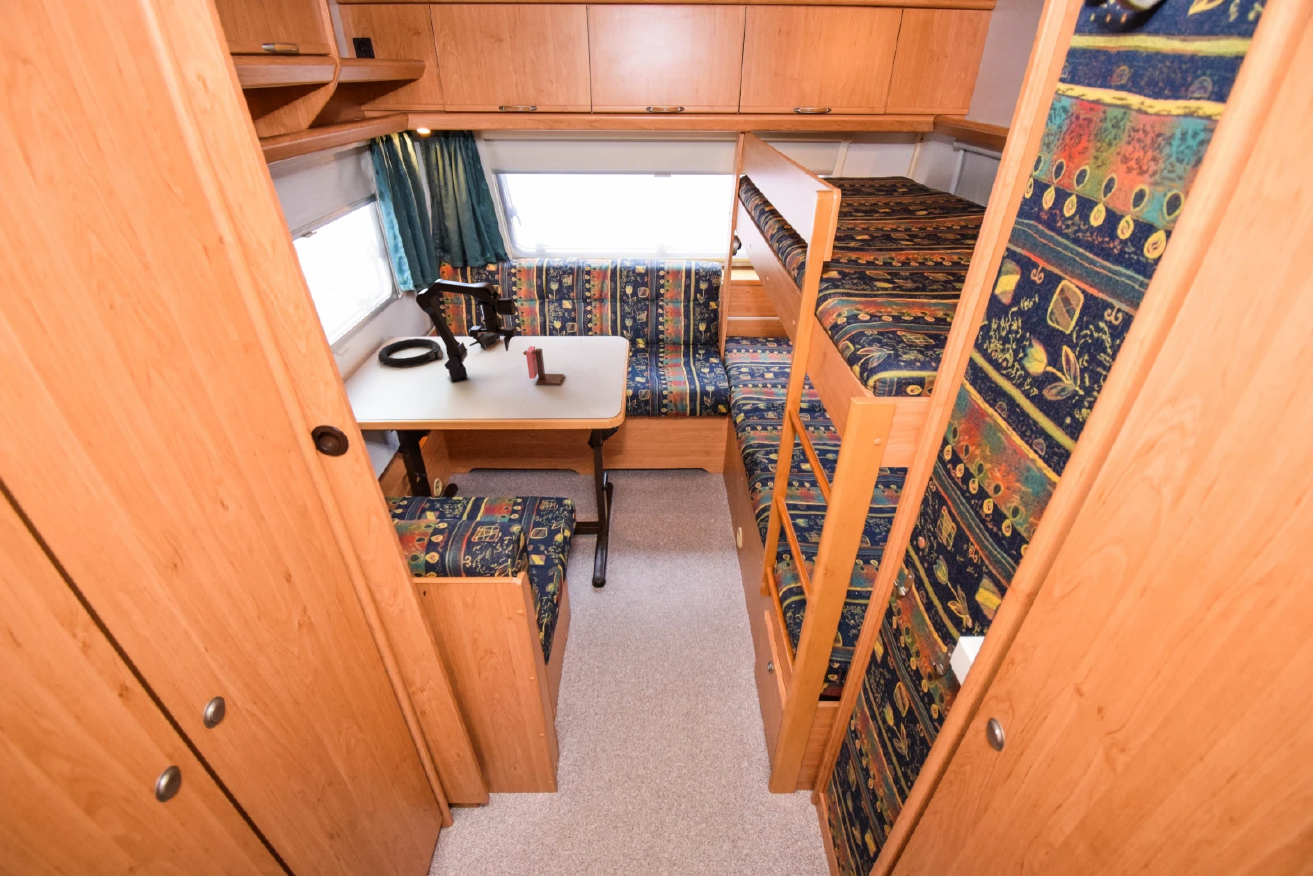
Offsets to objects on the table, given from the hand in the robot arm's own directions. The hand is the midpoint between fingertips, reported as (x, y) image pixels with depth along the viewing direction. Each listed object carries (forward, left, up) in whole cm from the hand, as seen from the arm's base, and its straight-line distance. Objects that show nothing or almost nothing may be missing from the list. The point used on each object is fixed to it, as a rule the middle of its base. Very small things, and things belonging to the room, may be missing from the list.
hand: (496, 350), depth 244 cm
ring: (-29, +46, -13) cm, 56 cm away
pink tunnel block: (+12, -8, -11) cm, 18 cm away
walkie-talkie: (+4, +40, -13) cm, 42 cm away
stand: (+15, -10, -13) cm, 22 cm away
